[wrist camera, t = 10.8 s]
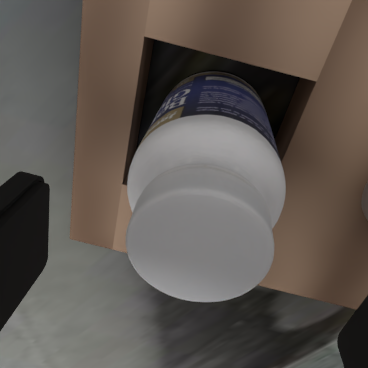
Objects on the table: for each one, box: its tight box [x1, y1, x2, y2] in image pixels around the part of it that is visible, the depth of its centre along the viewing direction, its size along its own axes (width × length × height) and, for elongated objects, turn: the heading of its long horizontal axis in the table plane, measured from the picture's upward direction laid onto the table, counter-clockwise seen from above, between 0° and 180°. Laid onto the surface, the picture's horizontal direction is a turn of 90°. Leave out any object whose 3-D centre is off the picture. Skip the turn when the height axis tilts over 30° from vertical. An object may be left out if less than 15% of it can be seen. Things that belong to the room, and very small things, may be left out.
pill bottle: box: [126, 71, 286, 302], centre depth 13 cm, size 5×5×10 cm
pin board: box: [70, 0, 368, 310], centre depth 12 cm, size 22×16×12 cm
